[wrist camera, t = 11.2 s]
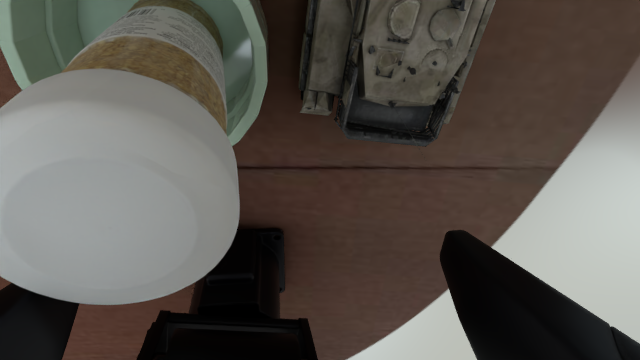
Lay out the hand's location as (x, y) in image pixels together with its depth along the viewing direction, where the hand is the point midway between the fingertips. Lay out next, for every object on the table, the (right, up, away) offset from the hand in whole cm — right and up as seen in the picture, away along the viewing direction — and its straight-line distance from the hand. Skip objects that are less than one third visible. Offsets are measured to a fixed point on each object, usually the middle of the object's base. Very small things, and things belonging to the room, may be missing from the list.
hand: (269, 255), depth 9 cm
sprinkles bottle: (-6, +9, +8) cm, 13 cm away
